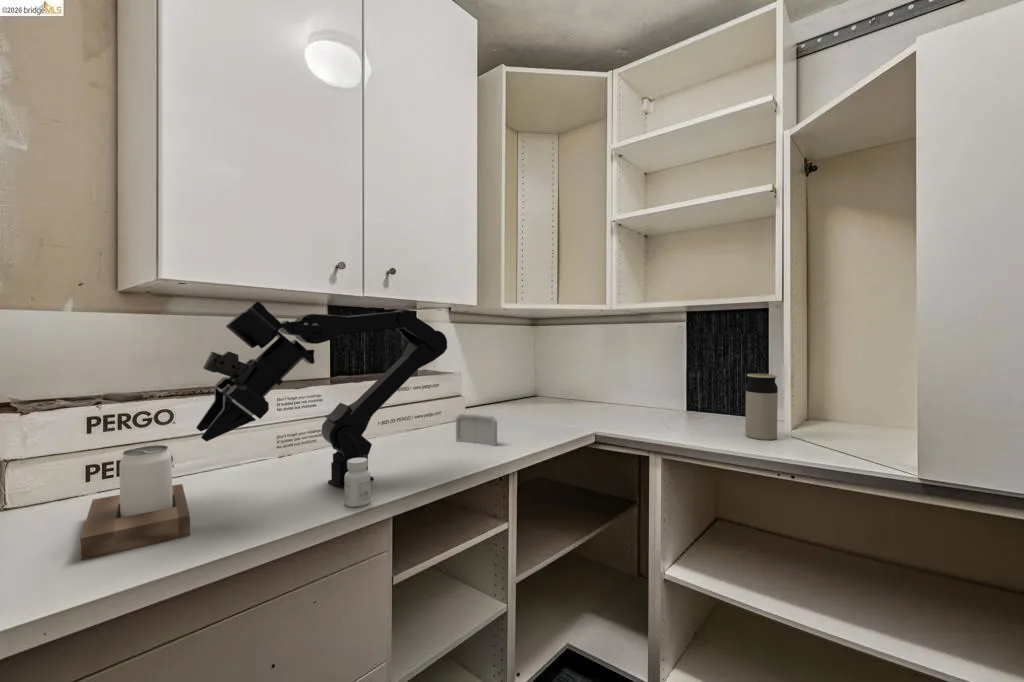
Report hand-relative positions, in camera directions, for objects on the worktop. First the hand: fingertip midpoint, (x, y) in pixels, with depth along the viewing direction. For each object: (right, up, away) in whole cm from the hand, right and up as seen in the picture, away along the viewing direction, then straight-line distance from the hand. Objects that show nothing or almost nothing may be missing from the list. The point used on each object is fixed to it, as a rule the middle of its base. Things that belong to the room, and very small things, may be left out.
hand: (200, 434), depth 77 cm
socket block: (-6, -13, -4) cm, 15 cm away
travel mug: (+124, -12, +54) cm, 136 cm away
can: (-6, -14, -4) cm, 15 cm away
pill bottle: (+25, -13, +5) cm, 29 cm away
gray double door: (+43, -12, +47) cm, 65 cm away
